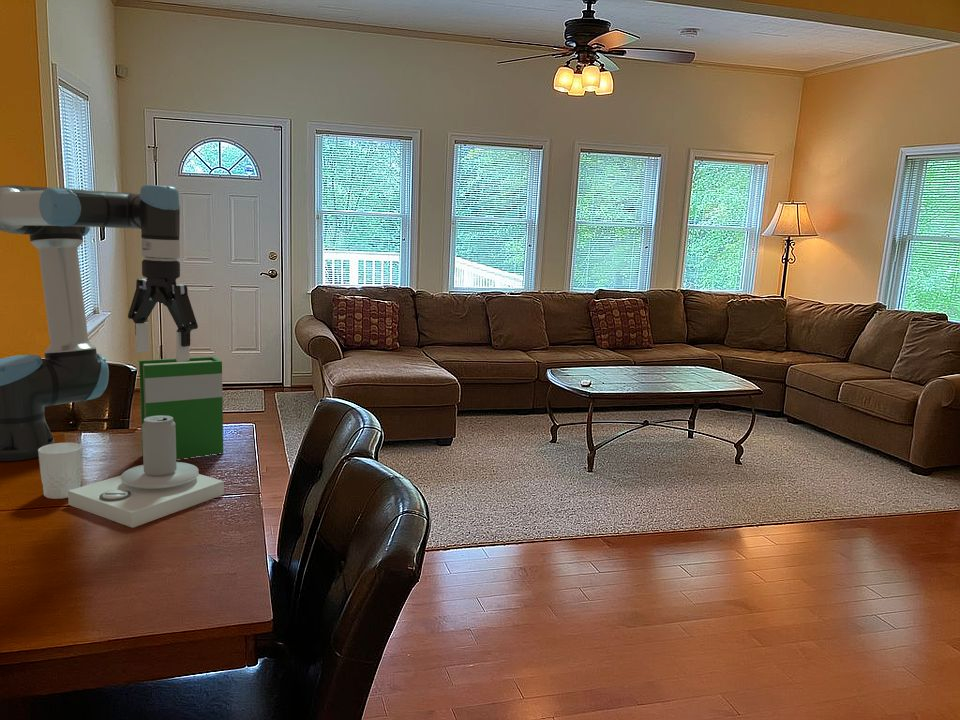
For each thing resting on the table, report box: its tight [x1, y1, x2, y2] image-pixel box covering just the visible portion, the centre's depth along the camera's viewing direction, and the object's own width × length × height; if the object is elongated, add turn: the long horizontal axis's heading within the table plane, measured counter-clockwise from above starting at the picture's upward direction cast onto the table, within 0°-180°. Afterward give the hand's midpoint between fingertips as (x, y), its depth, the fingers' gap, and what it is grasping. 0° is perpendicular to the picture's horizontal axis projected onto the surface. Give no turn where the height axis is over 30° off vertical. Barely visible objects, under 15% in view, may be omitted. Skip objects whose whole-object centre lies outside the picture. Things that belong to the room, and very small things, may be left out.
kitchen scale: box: [68, 461, 225, 529], centre depth 151 cm, size 20×22×5 cm
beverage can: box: [141, 415, 177, 477], centre depth 152 cm, size 6×6×12 cm
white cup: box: [38, 442, 83, 500], centre depth 152 cm, size 8×8×10 cm
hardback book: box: [138, 356, 224, 461], centre depth 179 cm, size 18×7×24 cm, turn 124°
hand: (162, 356), depth 159 cm, fingers open, 13 cm apart
